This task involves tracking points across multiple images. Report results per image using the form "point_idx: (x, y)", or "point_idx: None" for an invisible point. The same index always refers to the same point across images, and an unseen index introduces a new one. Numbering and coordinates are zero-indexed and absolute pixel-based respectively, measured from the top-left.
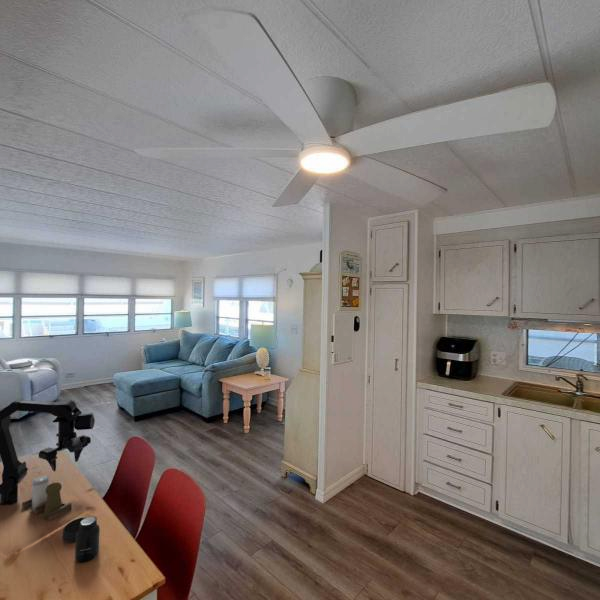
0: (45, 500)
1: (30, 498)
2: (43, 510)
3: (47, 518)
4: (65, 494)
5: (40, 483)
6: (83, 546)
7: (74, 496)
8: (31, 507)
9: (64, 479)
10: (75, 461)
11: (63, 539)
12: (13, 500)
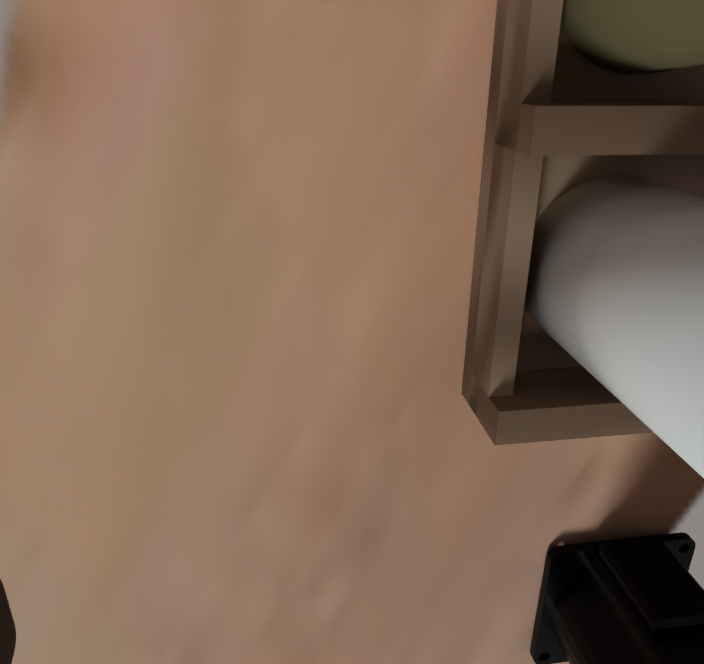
0: (662, 192)
1: (648, 428)
2: (687, 98)
3: None
4: (282, 283)
5: None
6: None
7: (249, 115)
8: None
9: (102, 612)
10: (14, 628)
11: None
12: (652, 560)
